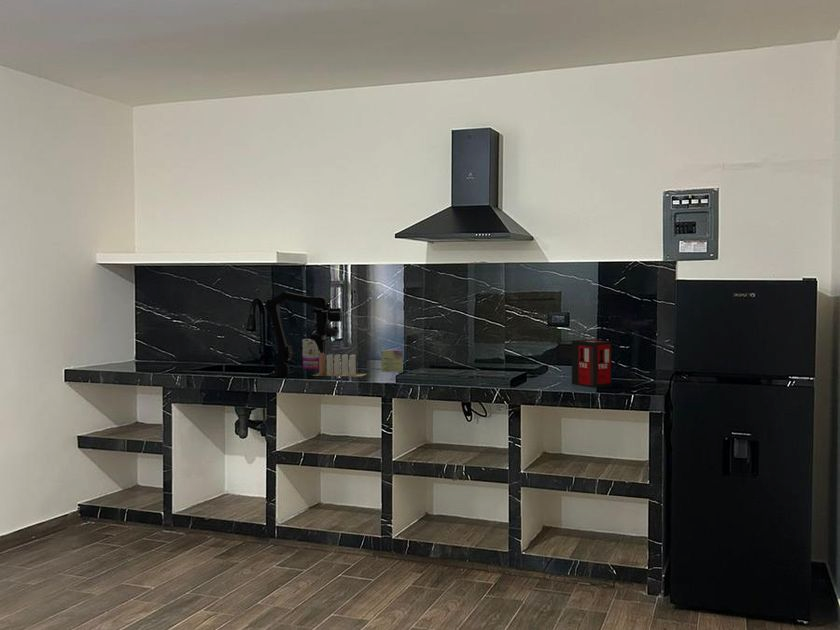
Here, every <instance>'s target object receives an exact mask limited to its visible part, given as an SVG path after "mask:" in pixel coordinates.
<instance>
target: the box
mask: <svg viewBox="0 0 840 630" xmlns="http://www.w3.org/2000/svg"><path fill="white" fill-rule="evenodd" d="M380 360H381V363H380V364H381V372H384V373H385V372H397V374H402V373H401V372H403V349H381V358H380Z"/></svg>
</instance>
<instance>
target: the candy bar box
mask: <svg viewBox="0 0 840 630" xmlns="http://www.w3.org/2000/svg"><path fill="white" fill-rule="evenodd" d="M301 341H302V343H301V344H302V370H305V369H306V370H314V371H315V370H316V371H317V370H319V355H321V354H325V353H324V352H325V351H324V352H323V353H321V352H320V350H319V348H318V346H317V344H316V342H315V341H314V340H310V338H304V339H302V340H301Z"/></svg>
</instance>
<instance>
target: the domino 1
mask: <svg viewBox="0 0 840 630" xmlns="http://www.w3.org/2000/svg"><path fill="white" fill-rule="evenodd" d="M318 373H319V375H324V374H326V373H327V370H326V353H324V354H321V355H319V371H318Z"/></svg>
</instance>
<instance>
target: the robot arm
mask: <svg viewBox="0 0 840 630" xmlns="http://www.w3.org/2000/svg"><path fill="white" fill-rule="evenodd" d="M286 301H293V302H297V303H300V304H301V303H302V304H307V305H309V306H312V307H314V308H313V310H312V311H311V313H312V314H315V323H314V327H315V332H314V333H312V334H310V335H309V339H310V340H314V341H315V342H316V344H317V346H318V348H319V350H320V352H321V353H323V352H325V348H326V344H327V342H328V341H329V340H330V338H333V337H337V336H338V334H339V332H340V329H339V327H338V326H330V324H329V323H328V321H329V322H330V323H331V322H334V323H335V322H342V321H343V312H342V308H341V307H337V308H332V307H331V305H330V304H329V302H328V301H329V300H328V299H327V297H326V296H309V295H304V294H298V293H295V292H294V293H293V292H289V291H282V292H281V293H280V294H278V295H277V296H276V297H274V298H272V299H268V300H267V301H265V303H264V307H265V309H266V312H267V314H268V315H269V317H270V318H271V323H272V327H273V331H274V334H275V339H276V343H277V357H276V358H275V359H274V360H273V365H274V375H273V377H275V378H276V377H277V378H279V377H280V378H281V377H284V378H285V377H288V376H290V373H291V372H290V366H289V362H290V360H291V359H293V354H294V351H293V350H292V349H293V346H292V345H289V344H288V342H287V338H286V335H285V332H284V329H283V327H284V326H283V324H282V320H281V305H282V304H284V303H285V302H286Z"/></svg>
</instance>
